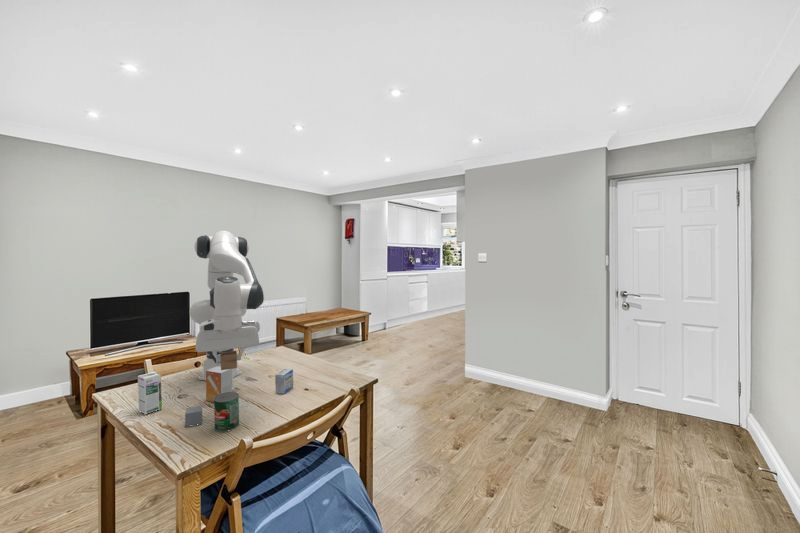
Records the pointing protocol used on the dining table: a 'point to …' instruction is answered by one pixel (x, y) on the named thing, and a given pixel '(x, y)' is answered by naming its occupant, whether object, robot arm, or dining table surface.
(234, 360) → the walnut block
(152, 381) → the syrup box
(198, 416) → the slate block
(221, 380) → the small box
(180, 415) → the dining table surface
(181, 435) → the dining table surface
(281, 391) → the medicine box
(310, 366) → the dining table surface
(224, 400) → the canned tomato
